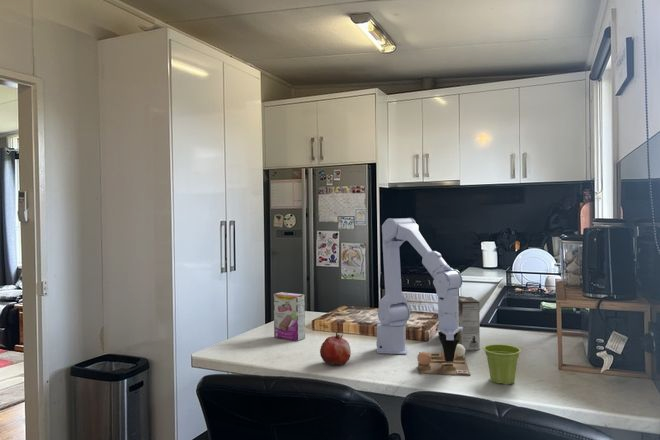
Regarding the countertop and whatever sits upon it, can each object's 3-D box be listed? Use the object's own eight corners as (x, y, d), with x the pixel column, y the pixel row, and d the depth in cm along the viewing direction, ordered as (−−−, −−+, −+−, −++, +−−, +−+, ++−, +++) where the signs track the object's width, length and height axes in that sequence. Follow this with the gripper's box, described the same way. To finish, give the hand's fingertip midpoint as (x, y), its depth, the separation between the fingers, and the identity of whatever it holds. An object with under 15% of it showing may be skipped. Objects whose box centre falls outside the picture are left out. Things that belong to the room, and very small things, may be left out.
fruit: (315, 361, 151) (315, 329, 150) (343, 357, 154) (343, 326, 154) (327, 370, 142) (326, 336, 142) (356, 365, 146) (355, 332, 146)
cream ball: (452, 358, 149) (452, 345, 149) (451, 354, 153) (451, 342, 153) (465, 359, 148) (465, 346, 148) (464, 355, 152) (464, 342, 152)
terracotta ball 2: (442, 363, 140) (442, 349, 140) (441, 359, 144) (441, 345, 144) (456, 364, 139) (456, 350, 139) (455, 359, 143) (455, 346, 143)
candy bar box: (273, 337, 181) (272, 293, 180) (281, 335, 185) (281, 291, 185) (297, 341, 175) (297, 296, 174) (305, 338, 179) (305, 294, 179)
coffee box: (453, 343, 170) (453, 297, 170) (471, 342, 170) (471, 296, 170) (461, 350, 161) (461, 301, 160) (481, 349, 161) (480, 301, 161)
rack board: (418, 373, 138) (418, 369, 138) (418, 353, 158) (418, 349, 158) (470, 375, 135) (470, 371, 135) (463, 355, 155) (463, 351, 155)
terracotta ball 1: (417, 367, 141) (417, 353, 141) (417, 363, 145) (417, 349, 145) (431, 367, 140) (431, 354, 140) (431, 363, 144) (430, 350, 144)
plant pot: (501, 389, 125) (501, 355, 125) (476, 378, 133) (476, 346, 133) (528, 383, 129) (528, 351, 128) (503, 373, 137) (502, 342, 137)
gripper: (464, 317, 133) (465, 367, 133) (460, 307, 148) (460, 352, 148) (438, 317, 135) (439, 366, 135) (436, 307, 149) (437, 351, 149)
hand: (448, 358), depth 141 cm, fingers closed on terracotta ball 2, 4 cm apart
